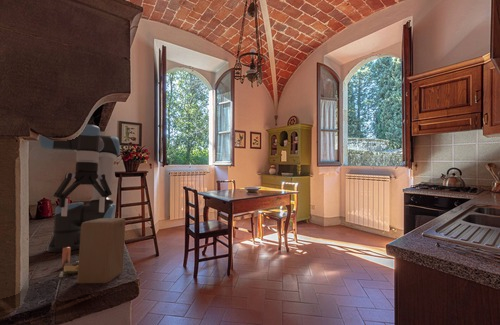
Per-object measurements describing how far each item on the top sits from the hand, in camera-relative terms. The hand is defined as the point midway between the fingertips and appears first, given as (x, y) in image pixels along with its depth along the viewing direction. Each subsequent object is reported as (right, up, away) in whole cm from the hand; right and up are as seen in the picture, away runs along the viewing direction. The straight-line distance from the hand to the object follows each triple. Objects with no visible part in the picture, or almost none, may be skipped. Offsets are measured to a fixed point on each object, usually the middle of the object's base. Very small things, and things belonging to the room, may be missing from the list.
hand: (83, 214), depth 92 cm
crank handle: (+2, -18, -8) cm, 20 cm away
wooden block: (+17, -19, -16) cm, 30 cm away
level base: (+4, -19, -10) cm, 22 cm away
